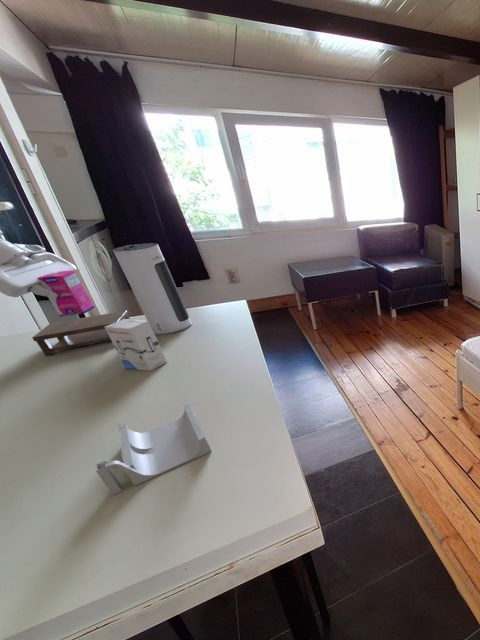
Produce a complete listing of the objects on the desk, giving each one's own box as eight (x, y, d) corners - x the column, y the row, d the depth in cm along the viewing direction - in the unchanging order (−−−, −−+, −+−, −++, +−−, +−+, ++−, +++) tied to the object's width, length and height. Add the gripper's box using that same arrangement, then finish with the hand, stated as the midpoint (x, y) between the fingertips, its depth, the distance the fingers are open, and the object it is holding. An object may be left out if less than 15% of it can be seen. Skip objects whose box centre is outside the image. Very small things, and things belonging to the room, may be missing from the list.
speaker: (176, 334, 111) (137, 248, 99) (143, 335, 112) (100, 249, 100) (199, 321, 121) (166, 240, 109) (169, 322, 121) (133, 242, 109)
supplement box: (59, 317, 102) (34, 277, 97) (72, 310, 107) (50, 271, 102) (83, 314, 104) (61, 275, 98) (95, 307, 109) (74, 269, 103)
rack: (44, 357, 101) (31, 337, 98) (61, 341, 111) (50, 323, 108) (126, 341, 108) (116, 322, 106) (135, 327, 118) (126, 310, 115)
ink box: (124, 368, 93) (101, 326, 88) (143, 359, 97) (122, 318, 92) (150, 371, 91) (128, 328, 86) (169, 361, 95) (149, 320, 90)
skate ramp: (211, 451, 64) (200, 428, 61) (112, 495, 56) (95, 471, 53) (195, 415, 74) (184, 394, 71) (109, 448, 66) (94, 425, 63)
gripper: (-29, 261, 87) (41, 296, 93) (44, 244, 105) (99, 274, 111) (-38, 281, 89) (32, 314, 95) (36, 260, 107) (90, 289, 112)
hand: (68, 292), depth 103 cm, fingers closed on supplement box, 6 cm apart
